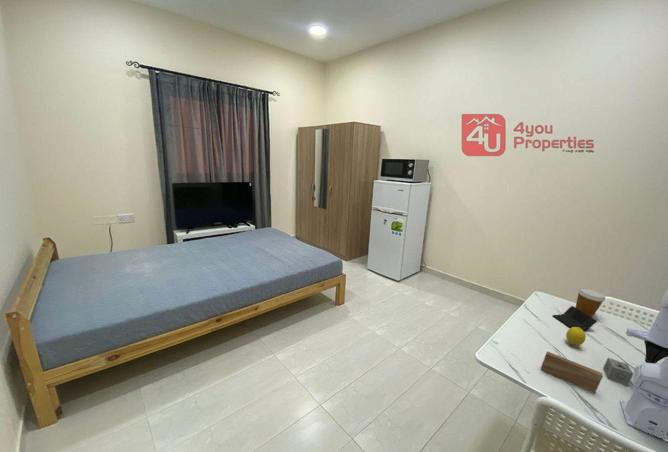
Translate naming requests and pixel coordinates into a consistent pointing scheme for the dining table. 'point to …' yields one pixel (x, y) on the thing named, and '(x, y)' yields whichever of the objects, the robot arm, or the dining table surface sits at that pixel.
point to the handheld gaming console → (576, 319)
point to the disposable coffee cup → (589, 300)
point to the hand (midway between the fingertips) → (648, 363)
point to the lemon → (575, 336)
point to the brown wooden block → (571, 372)
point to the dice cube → (617, 371)
